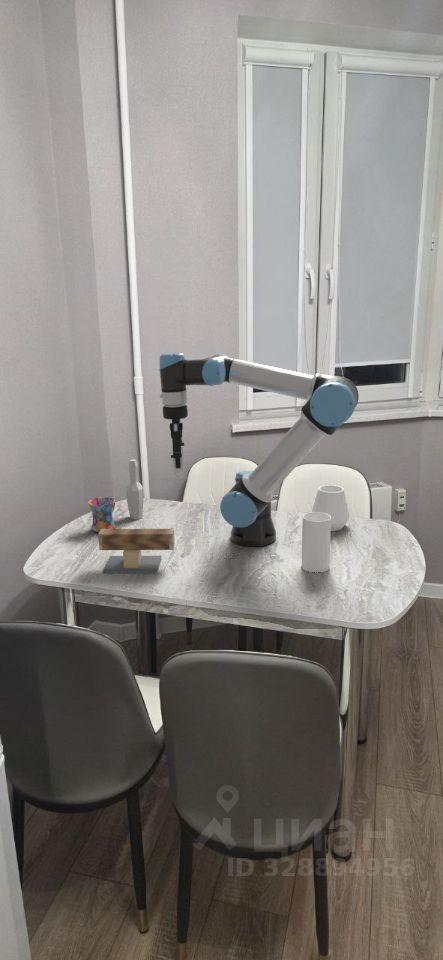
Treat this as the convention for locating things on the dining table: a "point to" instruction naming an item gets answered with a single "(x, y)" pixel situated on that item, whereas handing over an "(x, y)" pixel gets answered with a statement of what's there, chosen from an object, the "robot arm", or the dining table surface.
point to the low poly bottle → (134, 492)
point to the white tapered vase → (332, 505)
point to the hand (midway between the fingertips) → (179, 472)
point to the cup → (316, 542)
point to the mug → (102, 513)
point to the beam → (136, 539)
